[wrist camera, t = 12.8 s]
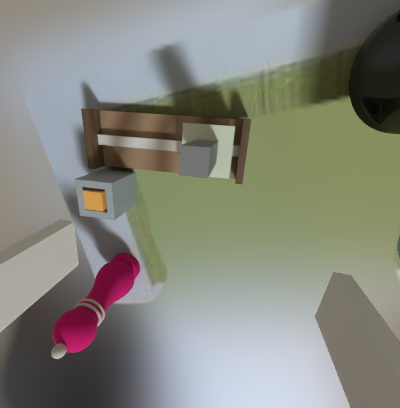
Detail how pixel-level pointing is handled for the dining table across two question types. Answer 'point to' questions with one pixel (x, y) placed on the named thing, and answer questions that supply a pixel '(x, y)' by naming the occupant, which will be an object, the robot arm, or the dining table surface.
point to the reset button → (95, 199)
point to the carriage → (206, 150)
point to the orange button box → (108, 192)
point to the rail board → (151, 140)
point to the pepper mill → (94, 306)
